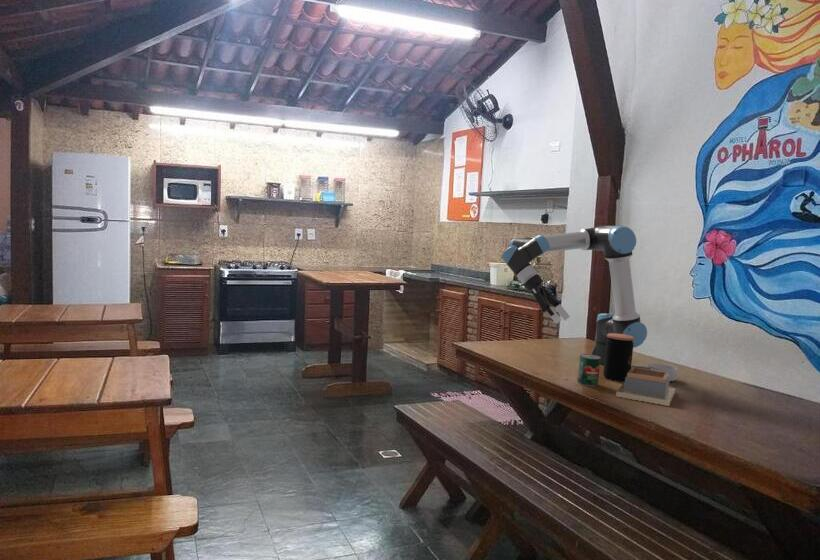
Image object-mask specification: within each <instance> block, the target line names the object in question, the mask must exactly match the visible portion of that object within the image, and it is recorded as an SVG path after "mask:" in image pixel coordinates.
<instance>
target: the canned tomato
mask: <svg viewBox="0 0 820 560" xmlns="http://www.w3.org/2000/svg"><path fill="white" fill-rule="evenodd" d="M600 358H601V357H599V356H596V355H591V353H590V354H589V353H581V354H579V360H578V371H577V372H578V373H577V381H576V383H577V384H578V385H582V386H585V385H586V386H587V387H596V386H595V385H597V386H598V385H599V376H600V368H601V367H600V365H601V364H600Z"/></svg>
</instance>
